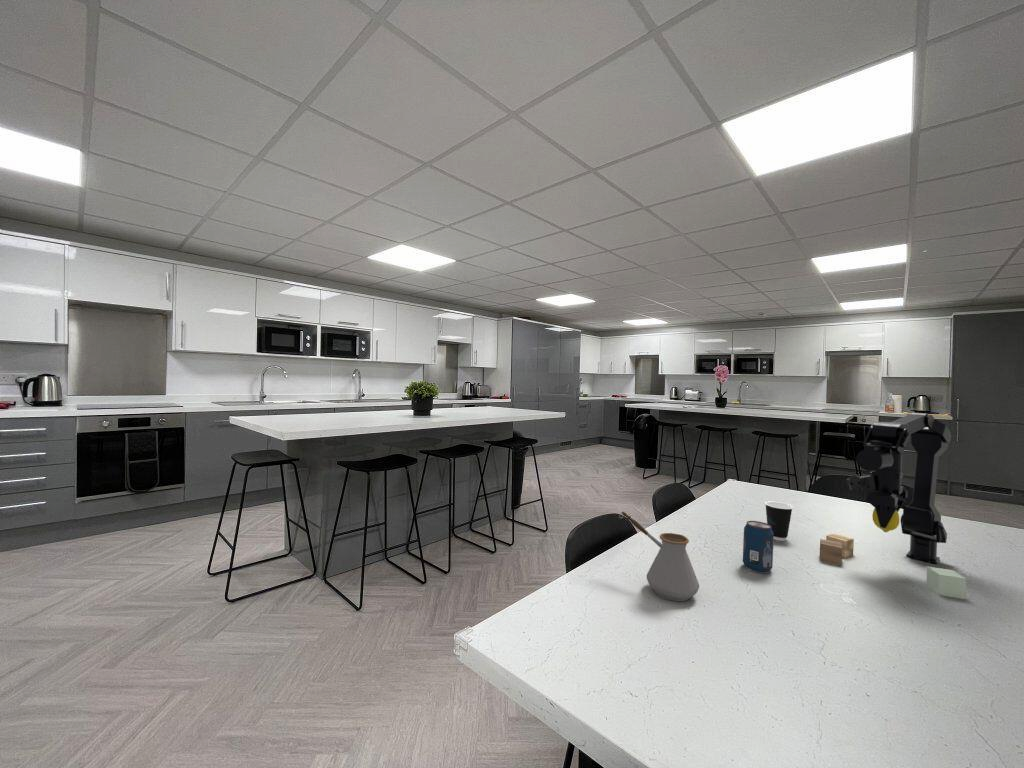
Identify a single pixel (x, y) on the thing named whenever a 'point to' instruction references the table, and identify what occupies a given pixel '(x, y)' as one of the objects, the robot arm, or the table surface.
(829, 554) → the walnut block
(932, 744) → the table surface
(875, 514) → the lemon
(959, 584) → the sage block
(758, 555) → the soda can
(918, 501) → the robot arm
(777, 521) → the dixie cup
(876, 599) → the table surface
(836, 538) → the oak block
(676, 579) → the coffee pot
